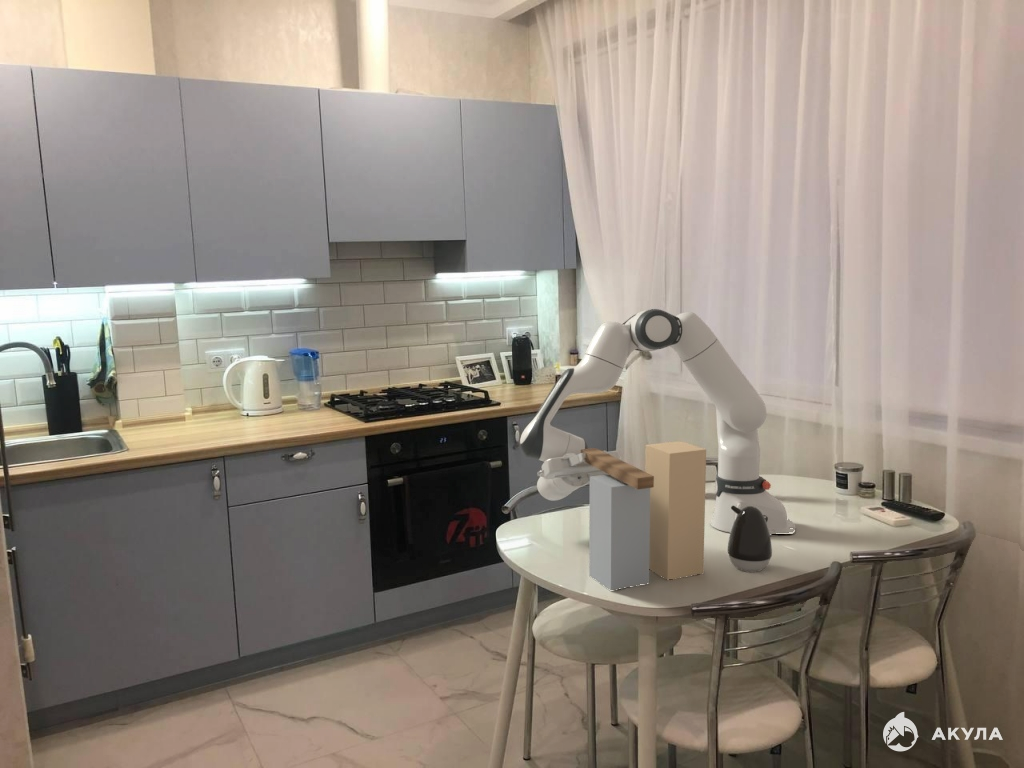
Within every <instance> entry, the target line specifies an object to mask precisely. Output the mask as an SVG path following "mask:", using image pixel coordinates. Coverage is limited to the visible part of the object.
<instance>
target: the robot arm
mask: <svg viewBox="0 0 1024 768" xmlns="http://www.w3.org/2000/svg"><path fill="white" fill-rule="evenodd" d="M668 347H670V348H671V349H673V350H674V351H675V352H676V354H677V355H678V357H679V358H680V360H681V361H682V362H683V364H684V366H686V368H687V370H688V371H689V372H690V374H691V375H692V377H693V378H694V379H695V381H696V383H697V384H698V385H699V386H700V388H701V389H702V391H703V392H704V393H705V394H706V397H708V398H709V400H710V402H712V404H713V405H714V407H715V408H716V409H715V411H716V412H715V413H716V431H717V432H716V433H717V434H716V435H717V447H718V449H717V451H718V453H717V454H718V456H717V474H716V477H715V486H714V487H715V489H714V490H715V495H716V496H715V503H714V504H715V505H714V509H713V514H712V517H711V520H710V522H709V524H710V525H711V527H712V528H714V529H716V530H719V531H721V532H726V533H729V534H730V532H731V529H732V526H733V524H734V521H735V519H736V517H737V515H738V514H736V513H735V512H734V511H733V510H732V509H731V507H732V506H735V507H737V508H739V509H740V510H742V509H743V508H745V507H748V506H752V507H756V508H757V509H759V510H760V511H761V513H762V514H763V516H764V518H765V521H766V523H767V526H768V530H769V533H770V534H776V533H789V532H793V531H794V530H795V528H796V525H795V523H794V522H793V521H792V520H791V519H789V518H788V515H787V509H786V507H785V505H784V504H783V502H781V500H779V499H778V498H776V497H775V496H774V495H773V494H771V493H770V492H769V491H768V490H770V489H771V487H772V485H771V483H770V481H768V480H767V479H765V478H764V477H763V476H760V461H761V460H760V459H761V457H760V456H761V447H760V441H759V433H758V430H759V428H761V427H762V426H763V425H764V424H765V422H766V418H767V406H766V403H765V401H764V400H763V398H762V397H761V395H760V394H759V393H758V391H757V390H756V389H755V388H754V386H753V385H752V383H751V382H750V381H749V379H748V378H747V377H746V375H745V374H744V373H743V372H742V371H741V369H740V368H739V367H738V365H737V363H735V361H734V360H733V358H732V357H731V355H730V354H729V352H727V350H726V348H725V347H724V346H723V344H722V343H721V341H720V340H719V338H718V337H717V336H716V334H715V333H714V332H713V331H712V329H711V328H710V327H709V326H708V324H707V323H705V321H703V319H702V318H701V317H700V316H699V315H697V314H696V313H694V312H692V311H685V312H684V311H683V312H681V313H678V314H676V315H673V314H671V313H669V312H667V311H665V310H664V309H659V308H651V309H644V310H641V311H639V312H637V313H635V314H633V315H632V316H630V317H629V318H628V319H626V320H625V321H624V322H623V323H621V322H616V321H606V322H604V323H602V324H601V325H600V326H599V327H598V329H597V330H596V331H595V333H594V335H593V337H592V338H591V339H590V342H589V344H588V346H587V348H586V350H585V352H584V355H583V356H582V358H581V360H580V361H579V362H578V364H576V365H575V366H574V367H572V368H567V369H566V370H564V372H563V373H562V374H561V375H560V376H559V378H557V381H556V382H555V384H554V385H553V386H552V387H551V389H550V391H549V392H548V394H547V396H546V397H545V399H544V401H542V404H541V405H540V407H539V409H538V410H537V412H536V413H535V415H533V417H532V419H531V420H530V422H529V423H528V424H527V426H526V427H525V428H524V430H523V431H522V433H521V436H520V439H519V446H520V449H521V451H522V452H523V455H524V456H525V457H527V458H530V459H533V460H537V461H542V462H543V463H542V464H541V469H540V470H539V471H537V473H536V475H537V477H539V478H538V480H537V482H536V488H537V490H538V491H537V492H538V493H539V494H540V496H542V497H543V498H544V499H546V500H548V501H559V500H563V499H564V498H566V497H567V496H569V495H570V494H572V493H573V492H574V491H576V490H578V489H579V488H582V487H585V486H586V485H590V477H591V476H599V475H607V473H605V472H603V471H601V470H600V469H598V468H596V467H594V466H592V465H590V464H588V463H586V462H585V461H586V460H587V459H588V458H587V454H586V453H581V449H589V447H588V444H587V442H586V440H585V439H584V438H583V437H580V436H578V435H575V434H573V433H570V432H567V431H565V430H562V429H560V428H557V427H555V426H552V425H551V422H552V421H553V418H554V417H555V415H556V414H557V413H558V410H560V408H561V406H562V405H563V403H564V401H565V400H566V399H567V398H568V397H570V396H572V395H576V394H601V393H606V392H608V391H609V390H611V389H613V388H614V387H615V386H616V384H617V383H618V381H619V379H620V377H621V374H622V373H623V370H624V368H625V365H626V363H627V360H628V358H629V357H630V355H631V354H632V353H633V352H634V351H638V352H654V351H658V350H662V349H664V348H668ZM602 451H603V452H605V453H607V454H609V455H611V456H613V457H615V458H617V459H619V460H621V461H622V457H621V454H620V452H619V451H618V450H612V451H607V450H602ZM787 518H788V520H787ZM790 520H791V521H790ZM790 528H793V529H790Z"/></svg>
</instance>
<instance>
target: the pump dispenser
mask: <svg viewBox="0 0 1024 768" xmlns="http://www.w3.org/2000/svg"><path fill="white" fill-rule="evenodd" d="M731 509H732V510H733V511H734V512H735V513H736V514H738V515H737V517H736V519H735V521H734V524H733V526H732V529H731V532H730V533H729V537H728V543H727V554H728V556H729V560H730V562H731V564H732V565H733V566H734V567H735V568H737V570H741V571H743V572H747V571H748V573H755V571H756V572H759V571H762V570H763V569H765V568H766V567H767V566H768V565H769V562H770V559H771V558H772V556H773V555H772V554H773V547H772V539H771V535H770V533H769V530H768V526H767V523H766V521H765V518H764V516H763V514H762V513H761V511H760V510H759V509H757V508H756V507H752V506H748V507H745V508H743V509H742V510H740V509H739V508H737V507H735V506H732V507H731Z"/></svg>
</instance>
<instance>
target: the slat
mask: <svg viewBox="0 0 1024 768" xmlns="http://www.w3.org/2000/svg"><path fill="white" fill-rule="evenodd" d="M603 451H604V450H601V449H599V448H596V447H591V448H588V449H581V453H586V454H587V458H588V459H587V460H586V461H585V462H586V463H588V464H590V465H592V466H594V467H596V468H598V469H600V470H601V471H603V472H605V473H607V474H609V475H611V476H613V477H615V478H617V479H619V480H620V481H622V482H624V483H626V484H628V485H630V486H632V487H634V488H636V489H645V488H652V487H654V476H652V475H650V474H648V473H646V472H645V470H642V469H640V468H638V467H636V466H634V465H633V464H632V465H631V464H630V463H627V462H625V461H623V460H622V459H621V460H619V459H617V458H615V457H613V456H611V455H609V454H607V453H605V452H603Z"/></svg>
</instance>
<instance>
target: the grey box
mask: <svg viewBox="0 0 1024 768" xmlns="http://www.w3.org/2000/svg"><path fill="white" fill-rule="evenodd" d="M588 528H589V534H588V535H589V536H588V537H589V539H588V540H589V541H588V542H589V543H588V544H589V545H588V546H589V555H588V556H589V557H588V558H589V561H588V562H589V567H588V568H589V569H588V570H589V571H588V572H589V575H588V576H589V577H590V576H591V577H592V579H593V578H594V579H596V580H597V581H598V582H600V583H601V584H602V585H601V584H600V583H599V584H600V585H601V586H603V585H604V586H605V587H607V588H608V589H610V590H616V589H619V588H624V587H630V586H636V585H640V584H647V583H649V584H650V570H649V546H650V488H645V489H636V488H634V487H632V486H630V485H628V484H626V483H624V482H622V481H620V480H619V479H617V478H615V477H613V476H611V475H609V474H607V475H599V476H591V477H590V483H589V527H588ZM591 577H590V578H591ZM594 579H593V580H594ZM596 580H595V581H596ZM597 581H596V582H597ZM598 582H597V583H598ZM647 585H648V584H647ZM604 586H603V587H604ZM605 587H604V588H605ZM607 588H606V589H607ZM608 589H607V590H608ZM610 590H609V591H610ZM616 591H617V590H616Z"/></svg>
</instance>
